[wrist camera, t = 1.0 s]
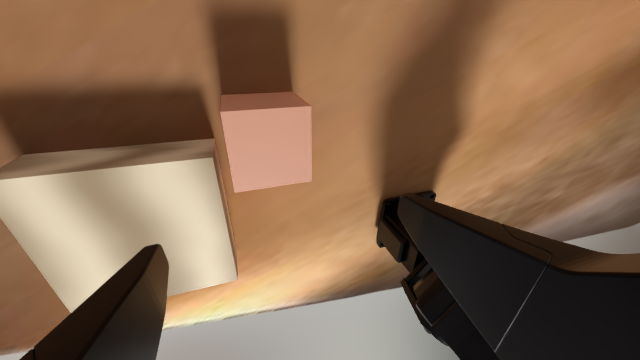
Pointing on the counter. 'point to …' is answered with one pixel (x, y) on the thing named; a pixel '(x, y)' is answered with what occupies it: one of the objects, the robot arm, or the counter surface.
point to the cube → (267, 139)
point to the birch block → (121, 214)
